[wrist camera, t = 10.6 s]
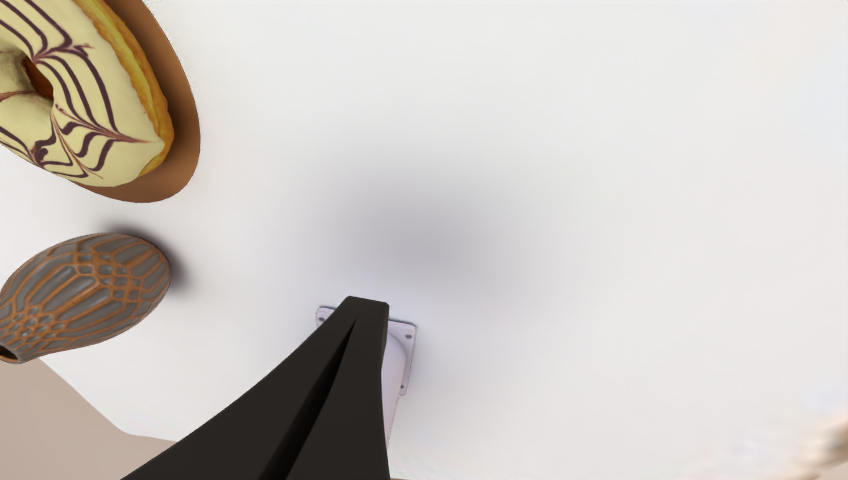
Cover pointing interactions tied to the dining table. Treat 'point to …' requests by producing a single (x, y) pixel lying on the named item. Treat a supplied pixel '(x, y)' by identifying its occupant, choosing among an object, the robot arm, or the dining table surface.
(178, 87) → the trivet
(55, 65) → the decorated donut
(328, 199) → the dining table surface
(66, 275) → the vase
